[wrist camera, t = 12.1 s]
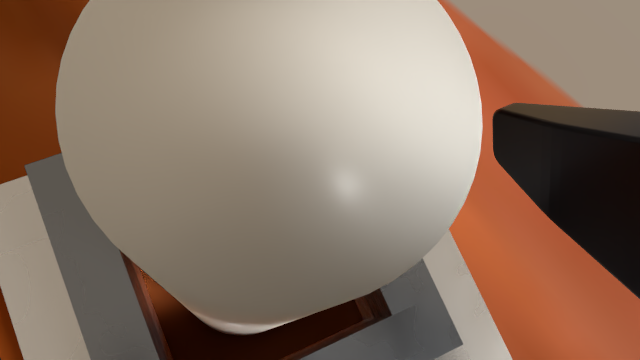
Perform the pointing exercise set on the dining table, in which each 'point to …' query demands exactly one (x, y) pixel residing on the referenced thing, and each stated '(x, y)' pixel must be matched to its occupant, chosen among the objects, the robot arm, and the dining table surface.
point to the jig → (138, 311)
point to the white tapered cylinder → (269, 145)
